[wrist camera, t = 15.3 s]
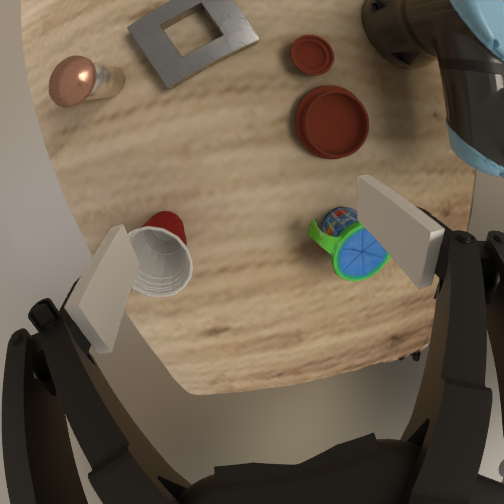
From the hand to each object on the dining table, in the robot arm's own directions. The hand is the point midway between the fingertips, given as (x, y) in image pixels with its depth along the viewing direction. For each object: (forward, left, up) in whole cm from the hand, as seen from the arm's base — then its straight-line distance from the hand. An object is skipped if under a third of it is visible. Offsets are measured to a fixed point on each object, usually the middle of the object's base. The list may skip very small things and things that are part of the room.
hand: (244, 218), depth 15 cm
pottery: (-16, +1, -29) cm, 33 cm away
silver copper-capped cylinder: (+10, -18, -29) cm, 35 cm away
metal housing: (-4, -17, -29) cm, 34 cm away
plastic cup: (+16, +7, -29) cm, 34 cm away
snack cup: (-10, +23, -29) cm, 38 cm away
